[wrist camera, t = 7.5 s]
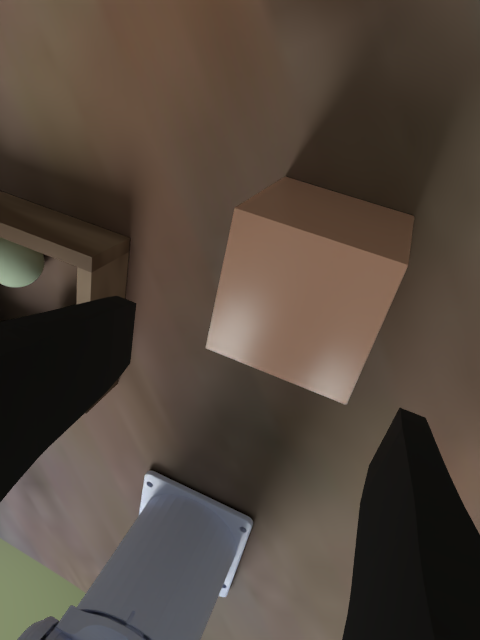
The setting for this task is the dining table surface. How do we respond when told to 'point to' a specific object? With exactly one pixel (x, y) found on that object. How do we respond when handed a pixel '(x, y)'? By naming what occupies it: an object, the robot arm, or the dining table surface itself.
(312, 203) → the tan cardboard cube
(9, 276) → the sage ball
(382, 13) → the dining table surface
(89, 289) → the walnut box
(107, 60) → the dining table surface
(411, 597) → the robot arm
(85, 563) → the dining table surface
